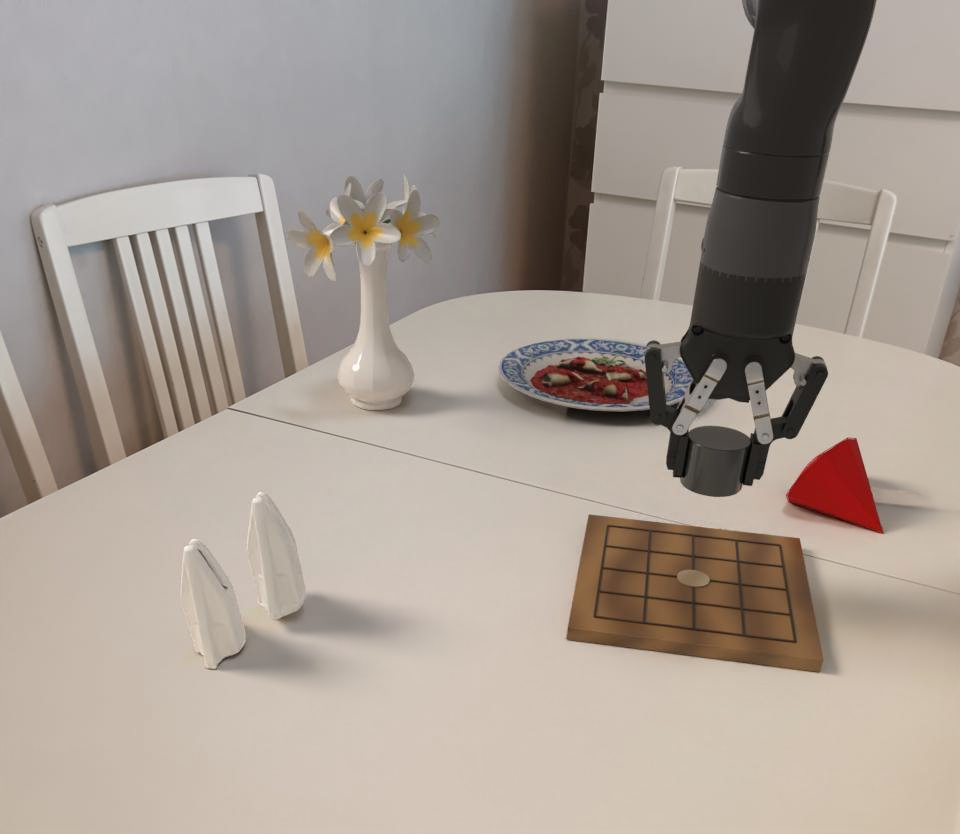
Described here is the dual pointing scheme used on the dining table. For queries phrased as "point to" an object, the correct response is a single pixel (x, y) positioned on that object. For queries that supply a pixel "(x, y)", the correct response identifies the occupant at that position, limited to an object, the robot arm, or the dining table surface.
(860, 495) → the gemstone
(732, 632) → the board
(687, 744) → the dining table surface
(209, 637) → the shaker set
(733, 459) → the dark grey cylinder
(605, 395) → the ceramic plate
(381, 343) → the flower vase
